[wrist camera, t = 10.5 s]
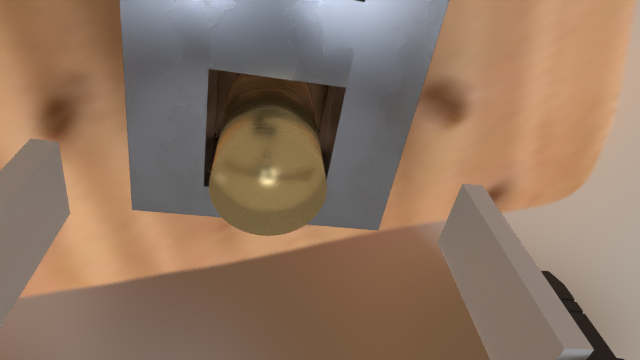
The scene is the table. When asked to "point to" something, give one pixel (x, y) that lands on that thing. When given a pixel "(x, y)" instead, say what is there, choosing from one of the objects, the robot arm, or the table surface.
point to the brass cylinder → (268, 157)
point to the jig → (284, 63)
